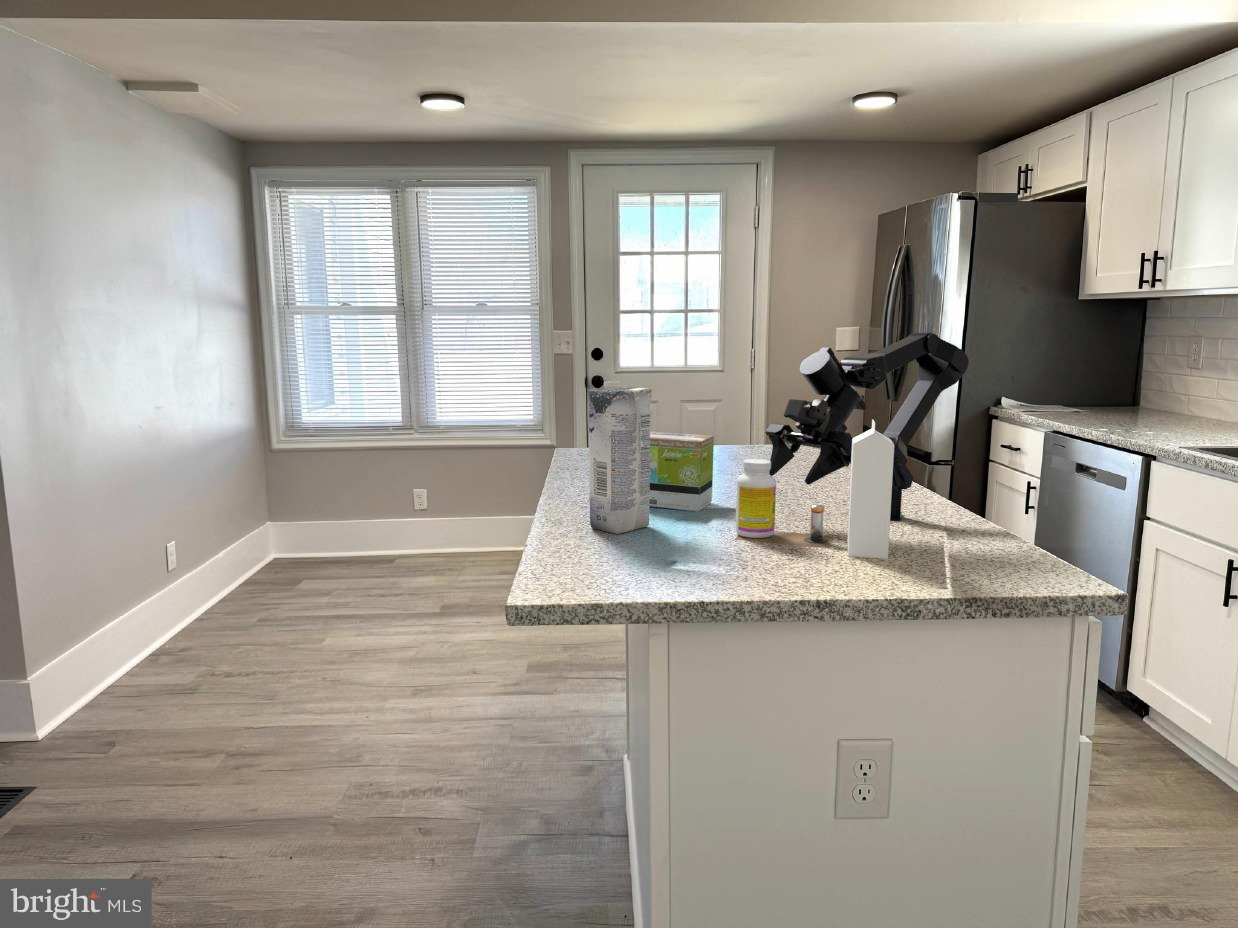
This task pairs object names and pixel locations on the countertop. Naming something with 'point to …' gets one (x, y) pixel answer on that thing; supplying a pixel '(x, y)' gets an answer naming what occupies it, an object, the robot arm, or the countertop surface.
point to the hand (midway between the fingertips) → (787, 479)
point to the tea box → (681, 470)
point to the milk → (870, 495)
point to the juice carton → (619, 457)
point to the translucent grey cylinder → (816, 523)
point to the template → (791, 539)
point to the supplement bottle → (756, 500)
